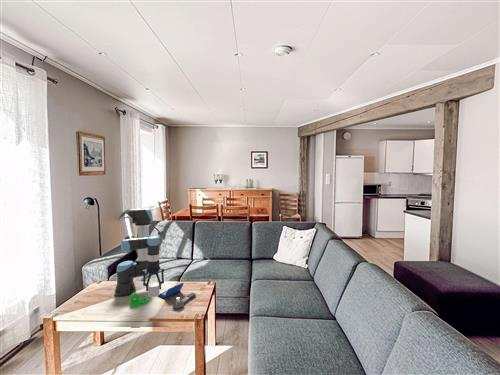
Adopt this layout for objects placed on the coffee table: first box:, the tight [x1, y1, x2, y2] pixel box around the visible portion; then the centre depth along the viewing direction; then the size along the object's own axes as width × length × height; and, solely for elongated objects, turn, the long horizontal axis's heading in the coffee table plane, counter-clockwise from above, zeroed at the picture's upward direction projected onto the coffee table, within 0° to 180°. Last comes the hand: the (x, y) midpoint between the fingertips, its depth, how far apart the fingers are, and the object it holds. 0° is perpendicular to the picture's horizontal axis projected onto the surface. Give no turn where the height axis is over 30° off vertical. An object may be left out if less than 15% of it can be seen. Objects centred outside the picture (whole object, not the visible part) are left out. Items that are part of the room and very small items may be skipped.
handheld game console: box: [157, 282, 185, 300], centre depth 209 cm, size 16×13×9 cm
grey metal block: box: [148, 282, 159, 299], centre depth 181 cm, size 6×6×7 cm
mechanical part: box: [129, 292, 150, 308], centre depth 195 cm, size 12×6×8 cm, turn 134°
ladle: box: [171, 292, 197, 311], centre depth 197 cm, size 8×22×6 cm, turn 156°
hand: (153, 294), depth 182 cm, fingers closed on grey metal block, 6 cm apart
